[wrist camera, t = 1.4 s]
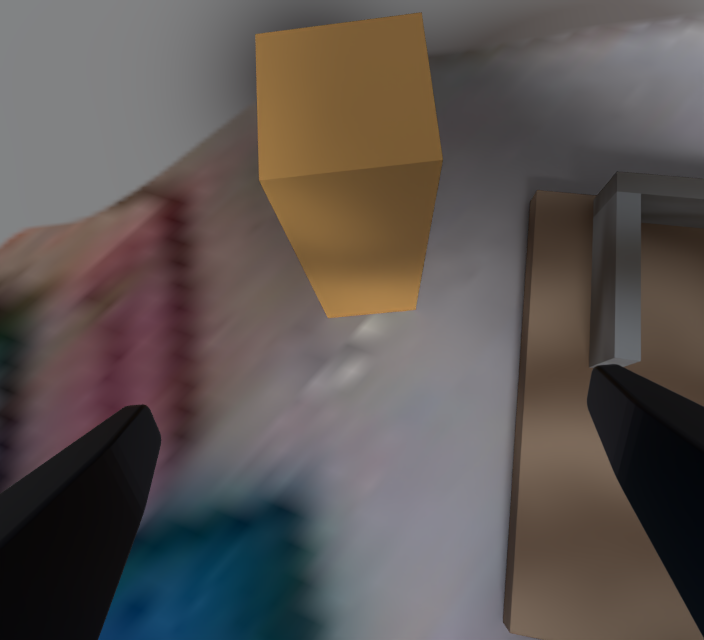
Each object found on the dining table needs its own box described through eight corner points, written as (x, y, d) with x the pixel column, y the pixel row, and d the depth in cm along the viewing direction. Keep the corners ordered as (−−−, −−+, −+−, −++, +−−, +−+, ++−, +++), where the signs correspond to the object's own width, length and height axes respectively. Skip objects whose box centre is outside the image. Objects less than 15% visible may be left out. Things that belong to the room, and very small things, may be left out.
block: (415, 309, 24) (442, 159, 11) (327, 318, 24) (259, 180, 11) (406, 229, 25) (421, 12, 12) (322, 238, 25) (255, 34, 13)
